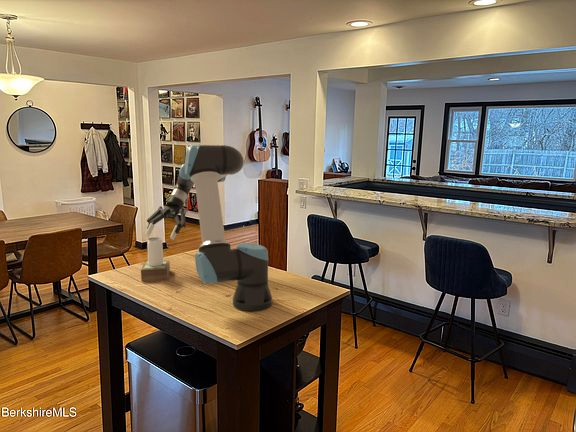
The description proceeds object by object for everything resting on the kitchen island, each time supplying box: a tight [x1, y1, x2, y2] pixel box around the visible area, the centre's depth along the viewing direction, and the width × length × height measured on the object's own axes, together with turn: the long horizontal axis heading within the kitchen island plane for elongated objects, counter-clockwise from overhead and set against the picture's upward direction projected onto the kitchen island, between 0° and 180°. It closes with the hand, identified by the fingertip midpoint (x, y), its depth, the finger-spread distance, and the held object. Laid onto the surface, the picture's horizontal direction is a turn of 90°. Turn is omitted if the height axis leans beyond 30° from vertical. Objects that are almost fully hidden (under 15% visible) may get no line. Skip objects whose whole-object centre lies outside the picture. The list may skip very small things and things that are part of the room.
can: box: [146, 236, 164, 266], centre depth 188 cm, size 6×6×12 cm
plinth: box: [140, 260, 171, 282], centre depth 189 cm, size 13×11×5 cm
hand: (159, 237), depth 191 cm, fingers open, 13 cm apart
